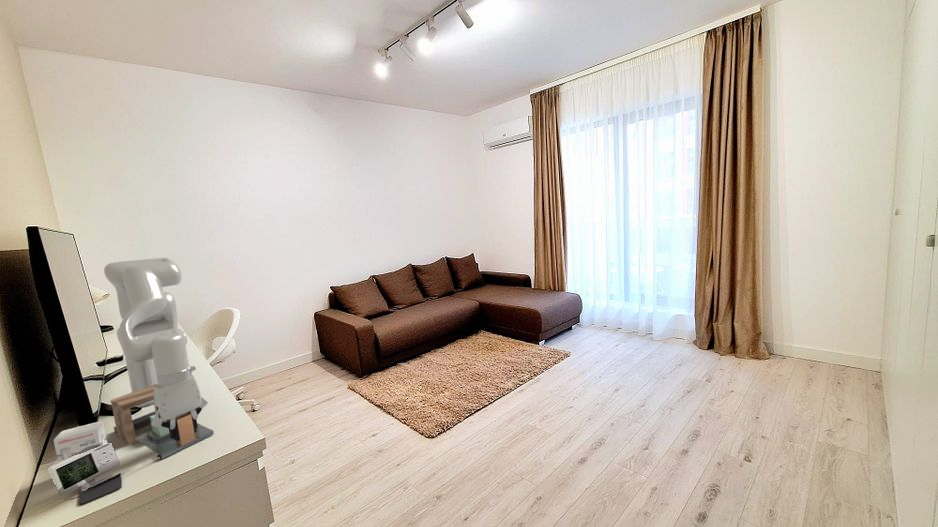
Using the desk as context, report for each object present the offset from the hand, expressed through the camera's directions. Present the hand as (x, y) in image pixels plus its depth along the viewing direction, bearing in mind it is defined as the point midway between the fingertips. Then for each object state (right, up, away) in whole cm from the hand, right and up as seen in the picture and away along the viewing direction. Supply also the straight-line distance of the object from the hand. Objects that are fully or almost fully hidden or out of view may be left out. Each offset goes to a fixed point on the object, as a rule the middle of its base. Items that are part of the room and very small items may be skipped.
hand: (184, 434), depth 106 cm
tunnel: (-17, -3, +11) cm, 20 cm away
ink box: (-21, -6, -8) cm, 23 cm away
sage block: (-10, -2, +6) cm, 12 cm away
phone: (-10, -6, -14) cm, 18 cm away
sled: (-6, -3, +4) cm, 8 cm away
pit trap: (-23, -3, +14) cm, 28 cm away
